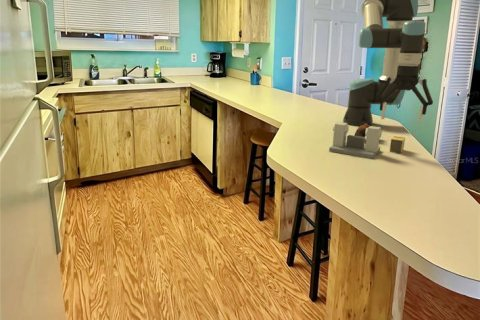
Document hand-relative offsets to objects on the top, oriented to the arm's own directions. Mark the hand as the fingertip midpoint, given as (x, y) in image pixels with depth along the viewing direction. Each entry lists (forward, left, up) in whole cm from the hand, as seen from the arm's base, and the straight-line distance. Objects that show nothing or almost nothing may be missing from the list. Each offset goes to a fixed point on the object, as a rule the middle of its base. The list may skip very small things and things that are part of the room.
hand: (400, 120), depth 144 cm
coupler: (0, 0, -12) cm, 12 cm away
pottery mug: (-10, -16, -13) cm, 23 cm away
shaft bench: (+10, -14, -12) cm, 21 cm away
